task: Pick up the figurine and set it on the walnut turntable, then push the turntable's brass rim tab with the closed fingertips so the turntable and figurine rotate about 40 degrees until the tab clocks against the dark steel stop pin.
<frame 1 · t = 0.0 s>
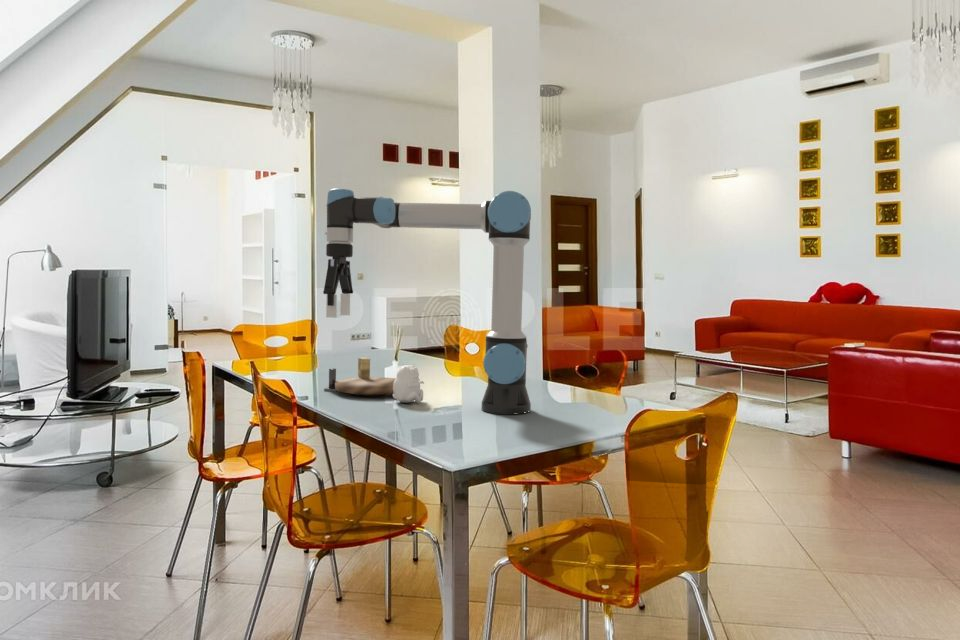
hand: (338, 316, 200), 28 cm above the table, fingers open, 13 cm apart
figurine: (407, 403, 219), on the table
base: (373, 392, 236), on the table
turntable: (373, 375, 236), point 6 cm above the table, hinge at 0.0°
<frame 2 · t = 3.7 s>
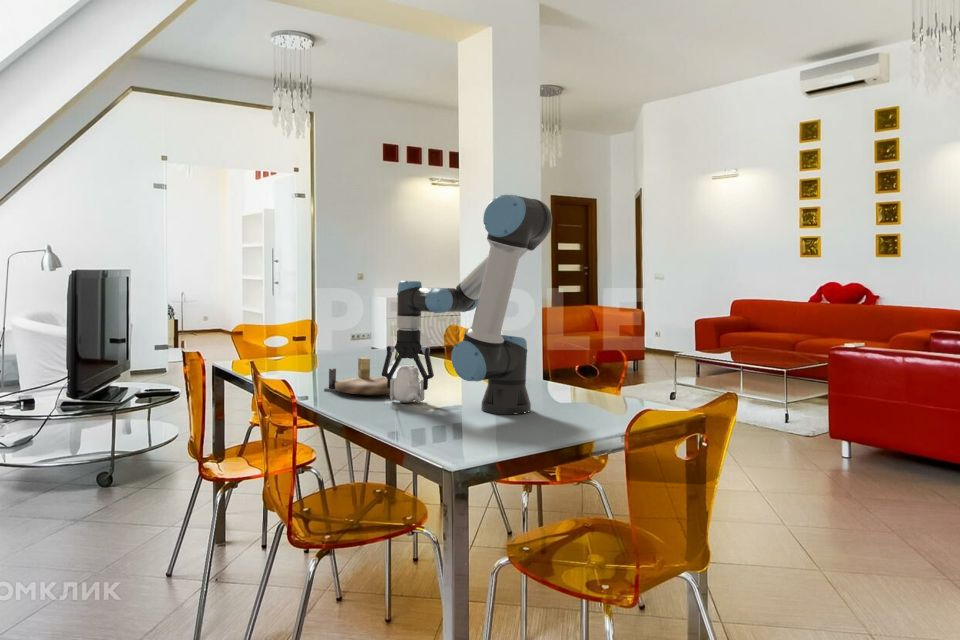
hand: (407, 399, 219), 1 cm above the table, fingers closed on figurine, 9 cm apart
figurine: (407, 403, 219), on the table, touching gripper
everything else where it was.
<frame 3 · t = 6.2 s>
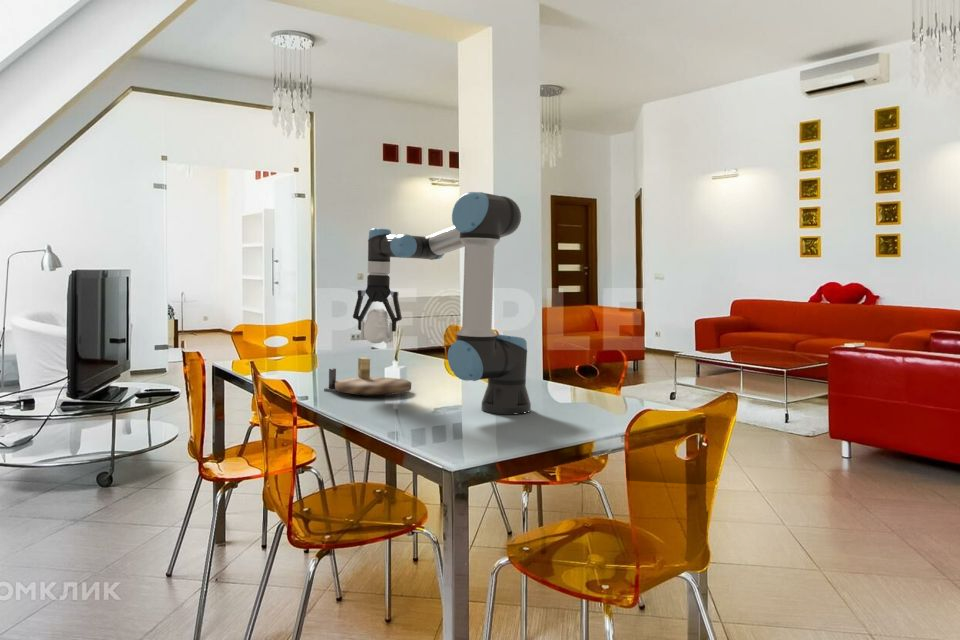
hand: (376, 340, 234), 18 cm above the table, fingers closed on figurine, 9 cm apart
figurine: (376, 344, 234), point 17 cm above the table, touching gripper
everything else where it was.
when the fingers open (5 cm above the table, at t = 8.8 s): figurine stays where it is, resting on turntable.
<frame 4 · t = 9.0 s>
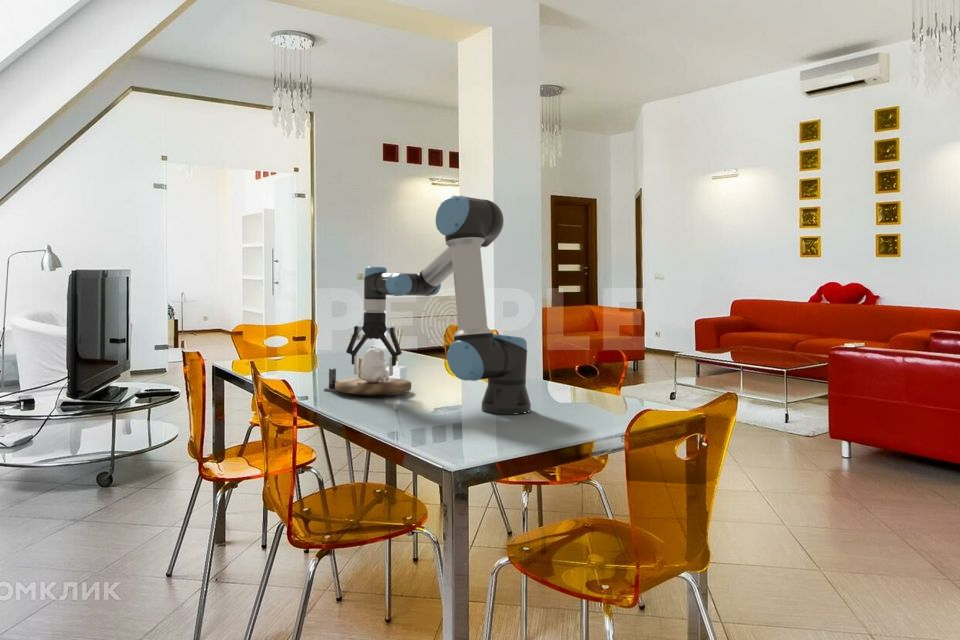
hand: (373, 374, 236), 6 cm above the table, fingers open, 11 cm apart
figurine: (373, 383, 236), point 3 cm above the table, touching turntable
turntable: (373, 375, 236), point 6 cm above the table, hinge at 0.0°, touching figurine
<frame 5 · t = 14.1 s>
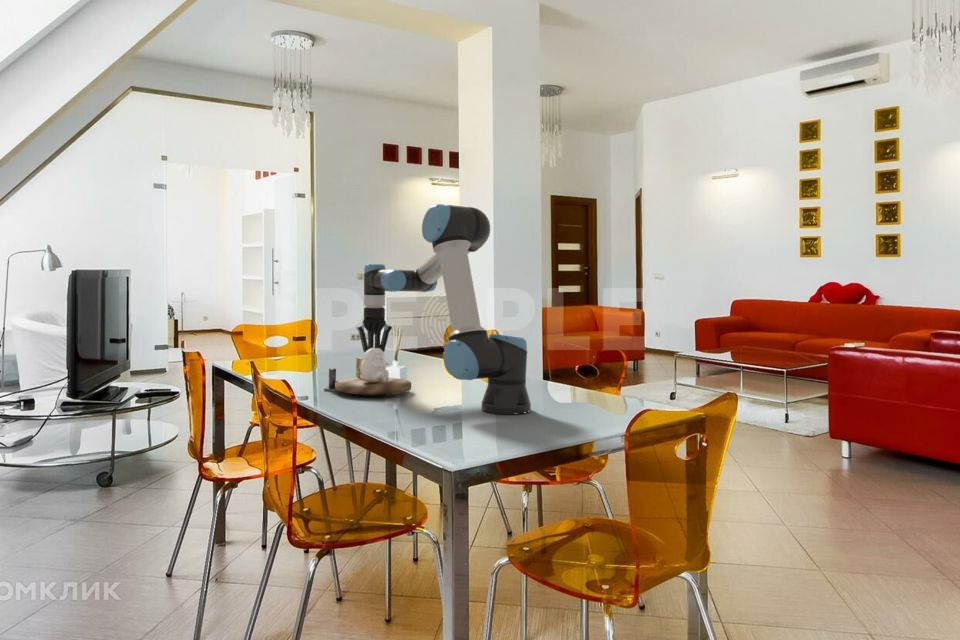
hand: (373, 371, 248), 6 cm above the table, fingers closed
turntable: (373, 375, 236), point 6 cm above the table, hinge at 2.7°, touching figurine, gripper
everything else where it was.
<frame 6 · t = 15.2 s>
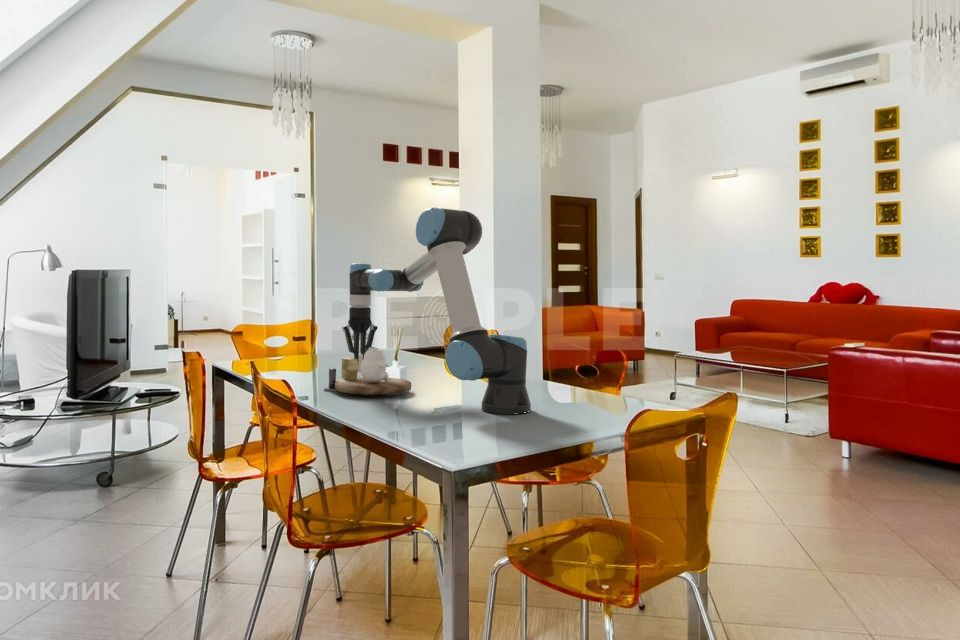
hand: (359, 372, 247), 6 cm above the table, fingers closed
turntable: (373, 375, 236), point 6 cm above the table, hinge at 26.6°, touching figurine, gripper
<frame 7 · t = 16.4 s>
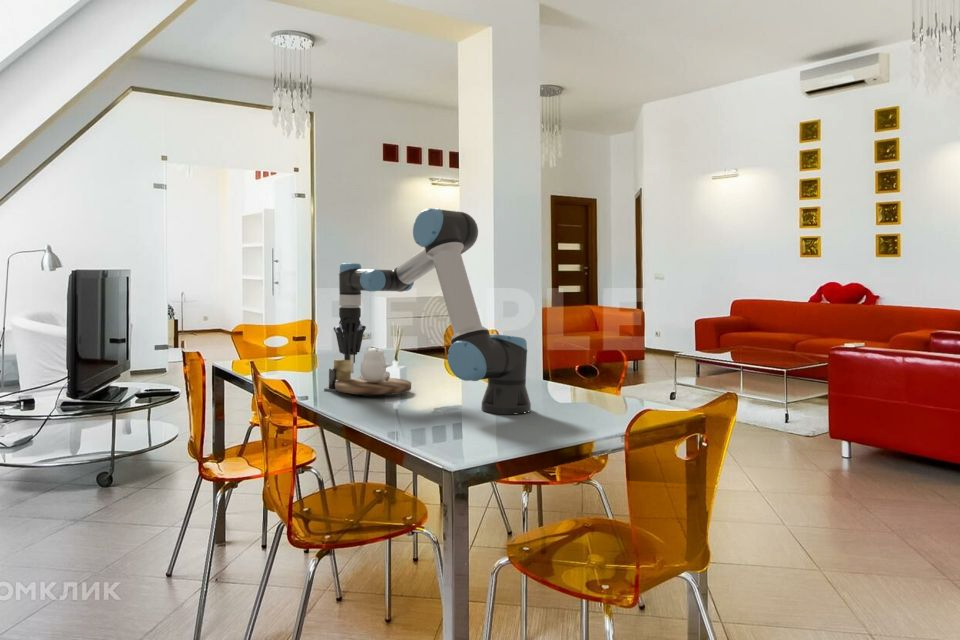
hand: (349, 372, 244), 6 cm above the table, fingers closed
turntable: (373, 375, 236), point 6 cm above the table, hinge at 44.6°, touching base, figurine, gripper
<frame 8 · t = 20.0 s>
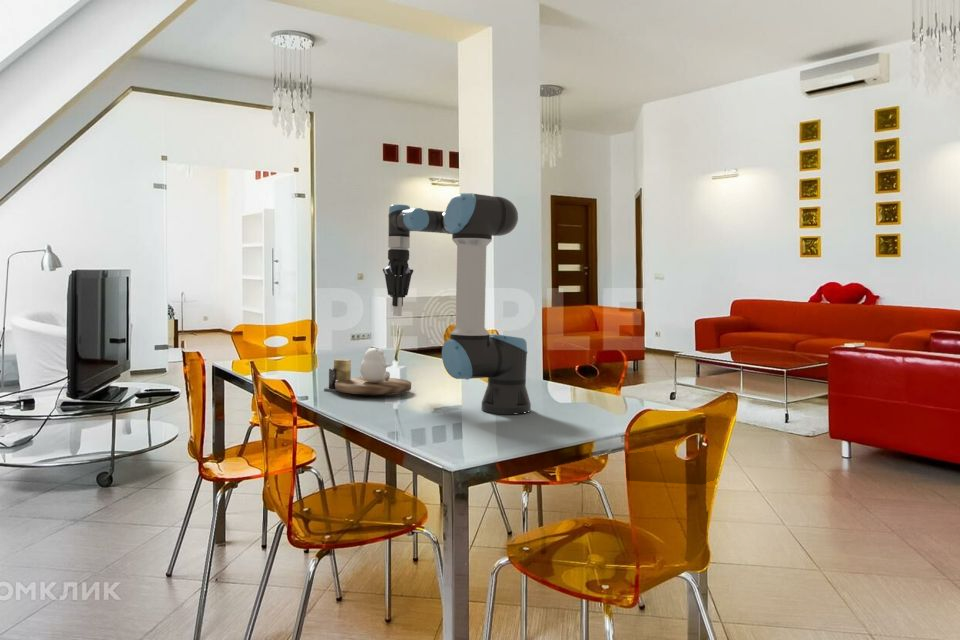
hand: (397, 315, 243), 26 cm above the table, fingers closed
turntable: (373, 375, 236), point 6 cm above the table, hinge at 44.6°, touching base, figurine
at the end: turntable at +45° (first picture: +0°); figurine 0.1 cm from the turntable (horizontally); figurine tilted 0° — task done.
